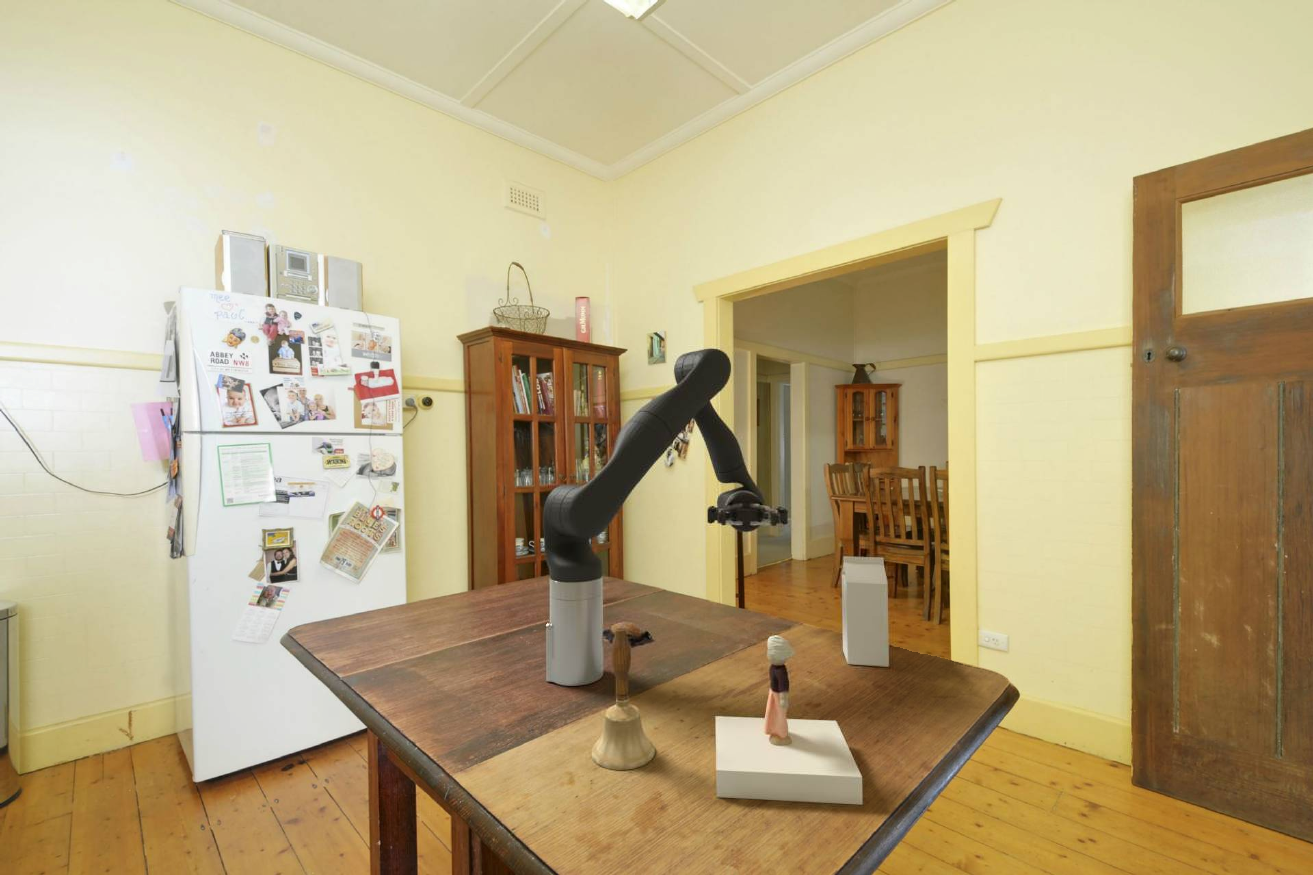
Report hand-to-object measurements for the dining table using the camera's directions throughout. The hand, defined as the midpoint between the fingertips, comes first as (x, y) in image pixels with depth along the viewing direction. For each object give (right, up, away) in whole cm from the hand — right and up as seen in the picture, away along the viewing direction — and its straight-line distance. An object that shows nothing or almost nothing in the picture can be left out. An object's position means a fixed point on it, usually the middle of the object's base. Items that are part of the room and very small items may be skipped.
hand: (749, 519), depth 96 cm
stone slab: (0, -27, -26) cm, 38 cm away
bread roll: (-22, -29, +22) cm, 43 cm away
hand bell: (-20, -27, -22) cm, 41 cm away
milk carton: (+23, -28, +9) cm, 37 cm away
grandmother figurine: (0, -24, -25) cm, 35 cm away
